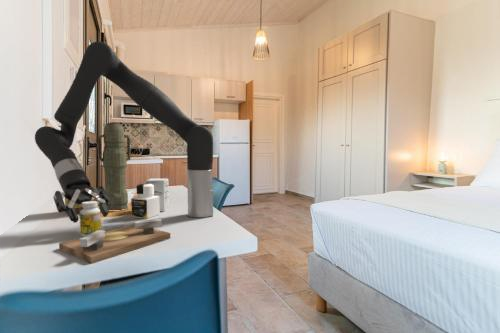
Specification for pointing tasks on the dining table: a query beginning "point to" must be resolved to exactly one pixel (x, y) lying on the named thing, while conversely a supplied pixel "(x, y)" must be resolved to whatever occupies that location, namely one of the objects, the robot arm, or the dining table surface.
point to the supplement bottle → (90, 218)
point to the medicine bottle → (145, 202)
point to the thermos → (115, 165)
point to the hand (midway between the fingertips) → (92, 217)
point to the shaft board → (115, 241)
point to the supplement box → (161, 191)
